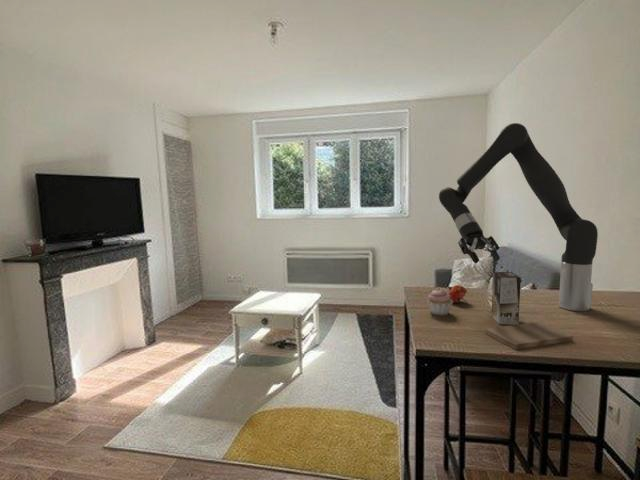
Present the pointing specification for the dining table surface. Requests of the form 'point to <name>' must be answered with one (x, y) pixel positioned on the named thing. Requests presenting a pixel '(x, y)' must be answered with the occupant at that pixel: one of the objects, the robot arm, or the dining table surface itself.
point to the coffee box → (506, 297)
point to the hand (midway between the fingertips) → (487, 261)
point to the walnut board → (528, 335)
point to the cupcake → (439, 302)
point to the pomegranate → (456, 293)
